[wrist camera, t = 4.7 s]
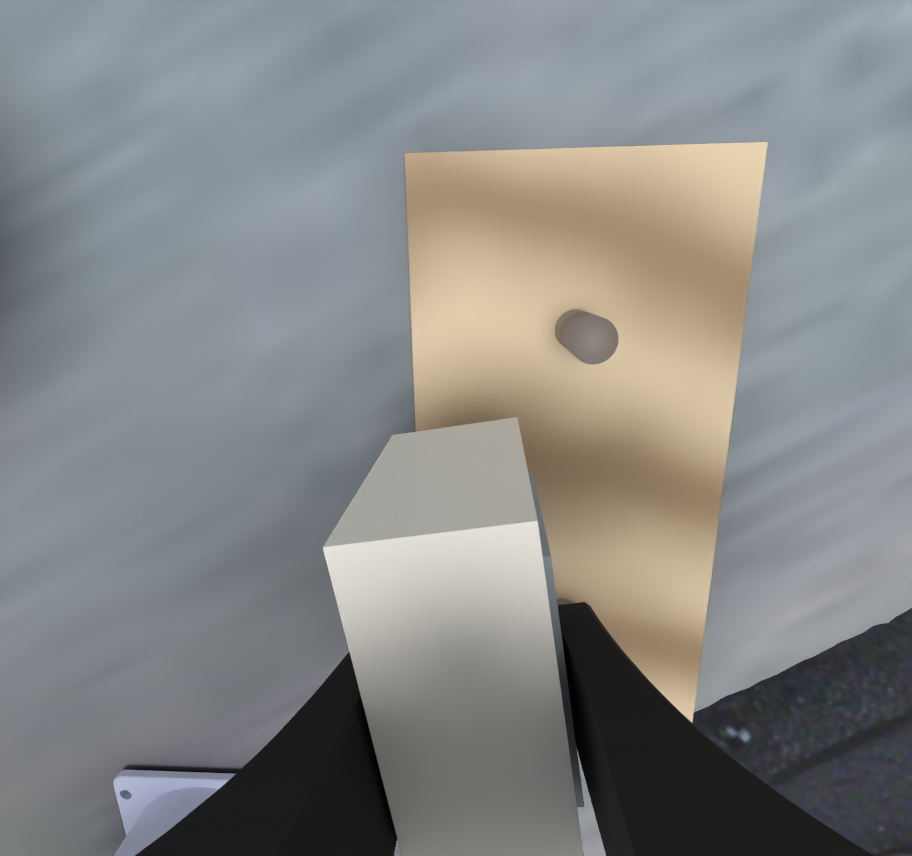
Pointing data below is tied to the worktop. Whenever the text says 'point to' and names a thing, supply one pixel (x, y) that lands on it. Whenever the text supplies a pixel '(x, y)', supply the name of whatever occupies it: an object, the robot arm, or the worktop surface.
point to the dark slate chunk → (833, 736)
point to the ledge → (597, 357)
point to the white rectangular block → (460, 645)
